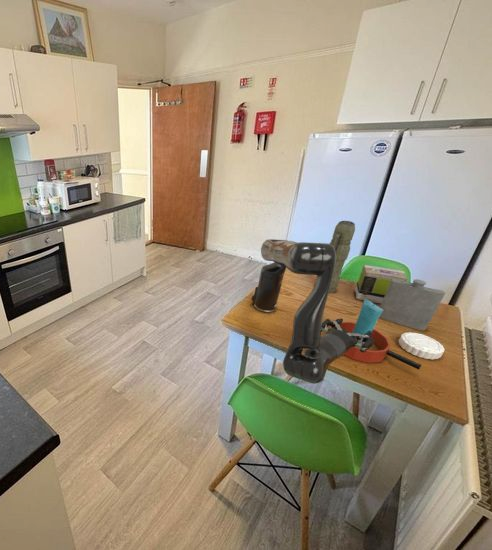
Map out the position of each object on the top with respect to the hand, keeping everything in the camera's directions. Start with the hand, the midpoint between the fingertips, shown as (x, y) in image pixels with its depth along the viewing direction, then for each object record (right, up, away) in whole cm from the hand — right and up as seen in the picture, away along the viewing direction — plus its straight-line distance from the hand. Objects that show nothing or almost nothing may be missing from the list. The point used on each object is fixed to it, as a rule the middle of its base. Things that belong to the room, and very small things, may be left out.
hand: (355, 326), depth 101 cm
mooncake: (+32, -10, +10) cm, 35 cm away
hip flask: (+38, -3, +24) cm, 45 cm away
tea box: (+41, +6, +41) cm, 58 cm away
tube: (+10, -10, +12) cm, 18 cm away
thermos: (+24, +11, +50) cm, 57 cm away
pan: (+12, -11, +9) cm, 19 cm away
